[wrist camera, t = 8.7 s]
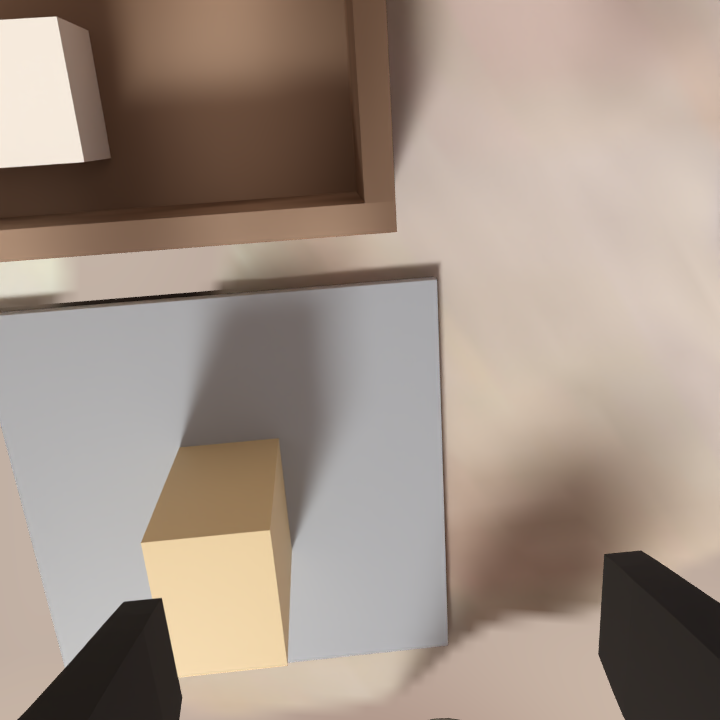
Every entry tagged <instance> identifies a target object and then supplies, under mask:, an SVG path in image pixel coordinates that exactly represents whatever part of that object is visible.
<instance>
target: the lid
mask: <svg viewBox="0 0 720 720" xmlns="http://www.w3.org/2000/svg"><path fill="white" fill-rule="evenodd" d="M214 292H215V290H213V291H201V292H189V293H176V294H165V295H153V296H141V297H128V298H115V299H103V300H91V301H79V302H67V303H58V305H57V308H46V309H34V310H21V311H9V312H0V424H1V428H2V431H3V435H4V439H5V443H6V447H7V450H8V454H9V458H10V462H11V466H12V469H13V473H14V477H15V481H16V484H17V488H18V492H19V496H20V499H21V503H22V507H23V511H24V515H25V518H26V522H27V526H28V530H29V534H30V537H31V541H32V545H33V548H34V552H35V556H36V560H37V564H38V567H39V571H40V575H41V579H42V583H43V586H44V590H45V594H46V597H47V601H48V605H49V609H50V613H51V617H52V620H53V624H54V628H55V632H56V635H57V639H58V643H59V647H60V651H61V654H62V658H63V662H64V666H65V668H66V666H67V665H68V664H69V663H70V662H71V661H72V660H73V658H74V657H75V656H76V655H77V654H78V653H79V652H80V650H81V649H82V648H83V647H84V646H85V645H86V644H87V642H88V641H89V640H90V639H91V638H92V637H93V636H94V634H95V633H96V632H97V631H98V630H99V629H100V628H101V626H102V625H103V624H104V623H105V622H106V621H107V620H108V618H109V617H110V616H111V615H112V614H113V613H114V612H115V611H116V610H117V608H118V607H119V606H120V605H121V604H122V603H123V602H125V601H135V600H145V599H155V598H162V601H163V606H164V611H165V616H166V621H167V626H168V631H169V635H170V640H171V645H172V650H173V655H174V660H175V665H176V670H177V675H178V678H179V677H189V676H198V675H207V674H216V673H226V672H235V671H244V670H253V669H262V668H272V667H281V666H288V663H290V662H299V661H309V660H318V659H327V658H336V657H346V656H355V655H364V654H373V653H383V652H392V651H401V650H410V649H420V648H429V647H438V646H447V645H448V623H447V591H446V558H445V525H444V493H443V460H442V428H441V395H440V363H439V330H438V297H437V279H436V278H435V277H425V278H412V279H400V280H388V281H376V282H364V283H351V284H339V285H327V286H315V287H302V288H290V289H278V290H266V291H254V292H241V293H229V294H217V295H214Z"/></svg>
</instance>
